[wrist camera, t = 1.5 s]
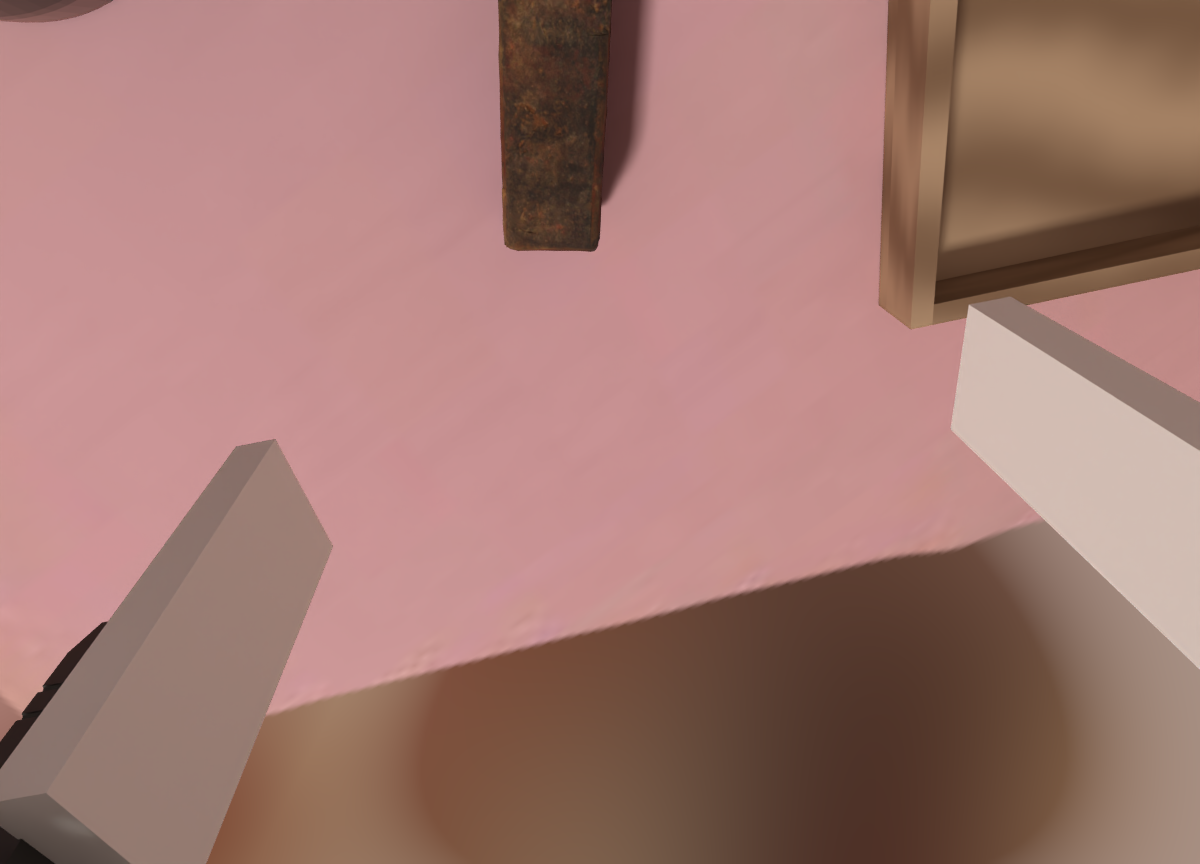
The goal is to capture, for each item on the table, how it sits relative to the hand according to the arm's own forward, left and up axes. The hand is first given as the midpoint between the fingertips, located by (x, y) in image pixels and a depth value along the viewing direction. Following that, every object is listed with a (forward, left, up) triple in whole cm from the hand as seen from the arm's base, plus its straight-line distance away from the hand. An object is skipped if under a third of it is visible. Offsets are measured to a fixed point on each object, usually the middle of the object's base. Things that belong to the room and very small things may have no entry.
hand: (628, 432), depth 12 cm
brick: (-5, 0, -20) cm, 20 cm away
